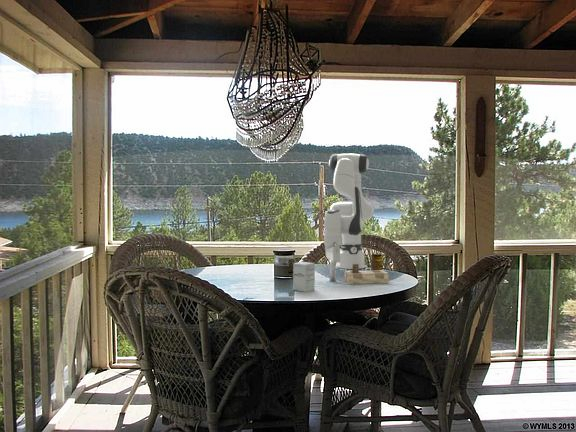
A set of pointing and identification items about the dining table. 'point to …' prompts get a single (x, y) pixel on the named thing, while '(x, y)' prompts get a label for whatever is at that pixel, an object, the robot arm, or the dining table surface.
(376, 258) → the condiment
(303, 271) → the supplement box
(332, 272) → the steel peg
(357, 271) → the walnut peg
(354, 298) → the dining table surface
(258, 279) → the dining table surface
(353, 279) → the hole block
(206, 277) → the dining table surface
